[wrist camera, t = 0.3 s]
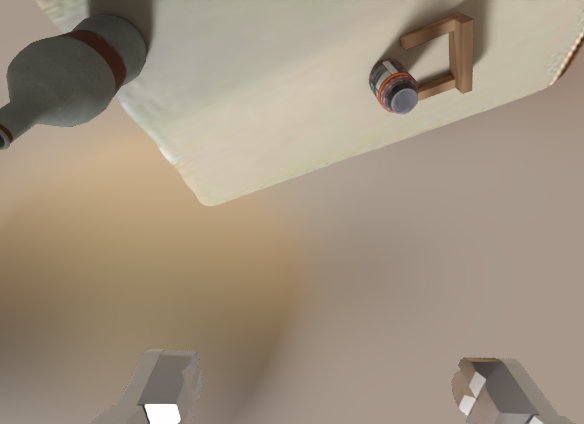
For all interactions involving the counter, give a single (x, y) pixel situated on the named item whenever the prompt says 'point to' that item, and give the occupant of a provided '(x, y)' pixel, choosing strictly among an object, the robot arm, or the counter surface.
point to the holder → (458, 53)
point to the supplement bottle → (394, 87)
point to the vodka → (70, 75)
